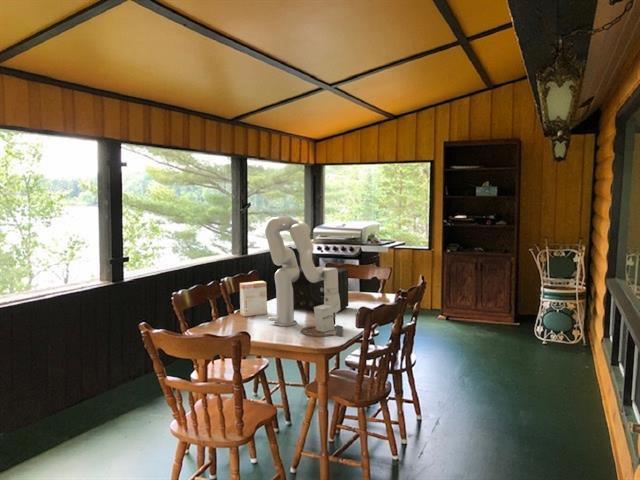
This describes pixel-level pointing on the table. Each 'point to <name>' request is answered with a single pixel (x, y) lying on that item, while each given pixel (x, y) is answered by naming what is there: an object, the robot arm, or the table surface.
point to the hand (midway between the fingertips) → (332, 324)
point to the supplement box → (324, 318)
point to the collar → (338, 332)
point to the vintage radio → (318, 291)
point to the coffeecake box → (253, 298)
